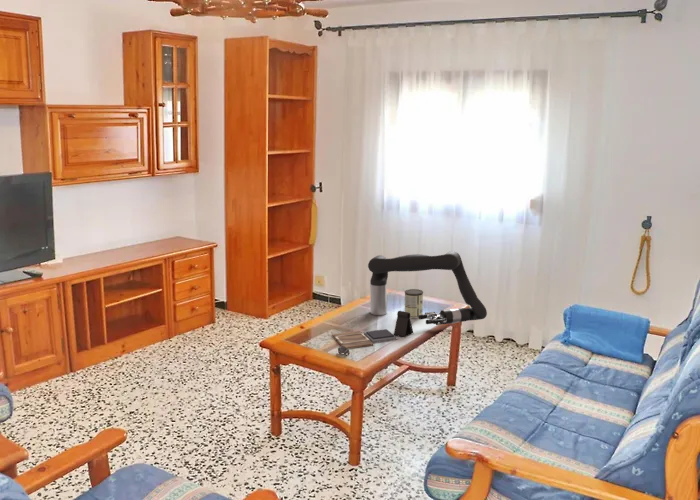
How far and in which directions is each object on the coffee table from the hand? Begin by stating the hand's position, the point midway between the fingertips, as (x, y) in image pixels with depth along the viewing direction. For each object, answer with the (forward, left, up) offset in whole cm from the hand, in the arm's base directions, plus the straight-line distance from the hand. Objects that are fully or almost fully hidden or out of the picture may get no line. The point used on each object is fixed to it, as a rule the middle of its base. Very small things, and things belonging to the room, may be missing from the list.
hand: (422, 319), depth 316 cm
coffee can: (-27, +7, -7) cm, 29 cm away
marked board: (0, -39, -7) cm, 39 cm away
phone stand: (0, -11, -7) cm, 13 cm away
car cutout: (+19, -46, -7) cm, 50 cm away
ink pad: (0, -24, -7) cm, 25 cm away
